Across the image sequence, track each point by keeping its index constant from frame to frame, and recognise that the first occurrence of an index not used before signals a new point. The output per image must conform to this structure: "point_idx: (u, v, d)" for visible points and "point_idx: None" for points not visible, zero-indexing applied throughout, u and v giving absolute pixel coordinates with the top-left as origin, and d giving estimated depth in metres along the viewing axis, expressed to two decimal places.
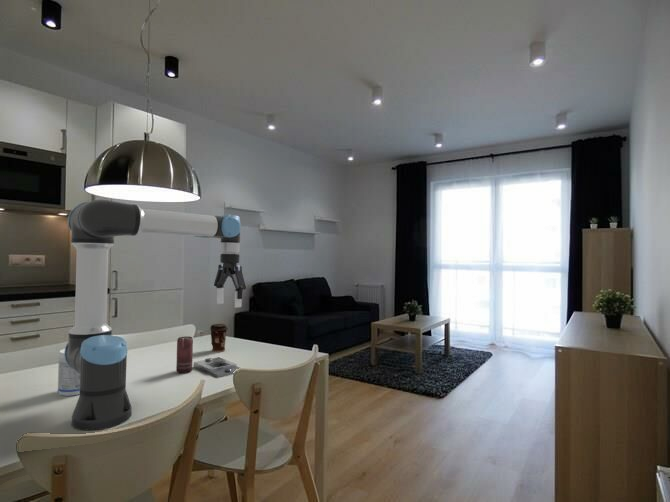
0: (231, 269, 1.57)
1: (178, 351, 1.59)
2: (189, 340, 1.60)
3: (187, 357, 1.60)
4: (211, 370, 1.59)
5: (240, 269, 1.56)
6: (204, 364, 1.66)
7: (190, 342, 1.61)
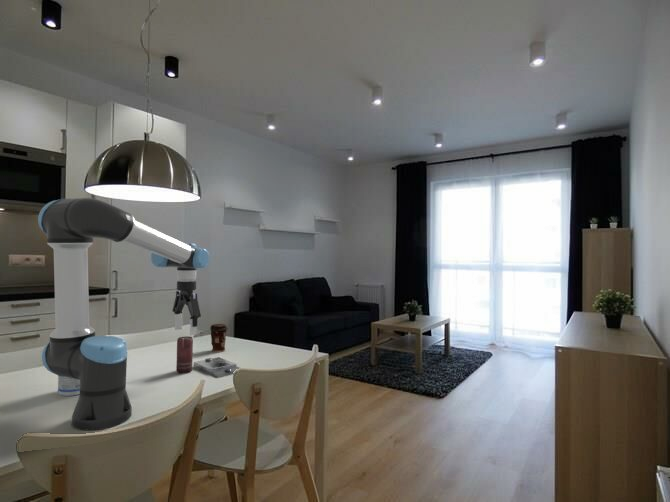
0: (187, 297, 1.59)
1: (178, 351, 1.59)
2: (189, 340, 1.60)
3: (187, 357, 1.60)
4: (211, 370, 1.59)
5: (195, 297, 1.58)
6: (204, 364, 1.66)
7: (190, 342, 1.61)
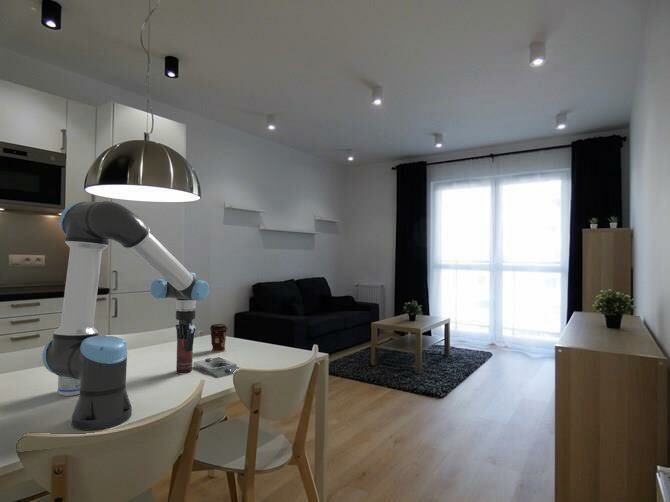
0: (186, 326, 1.59)
1: (178, 351, 1.59)
2: None
3: (187, 357, 1.60)
4: (211, 370, 1.59)
5: (193, 332, 1.58)
6: (204, 364, 1.66)
7: None
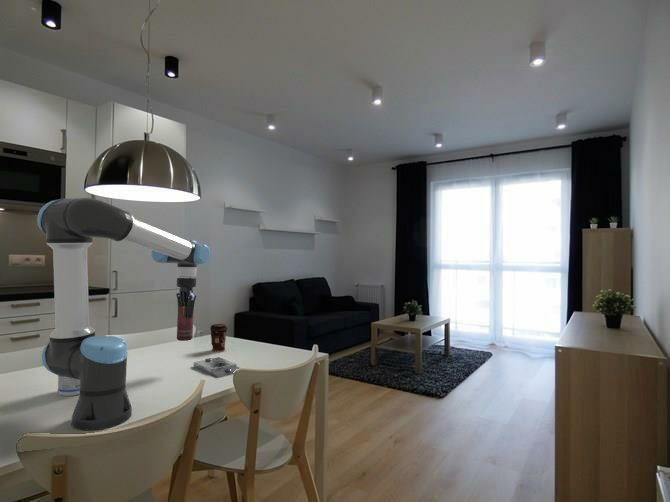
0: (187, 293, 1.59)
1: (179, 318, 1.59)
2: None
3: (188, 325, 1.60)
4: (211, 370, 1.59)
5: (194, 299, 1.58)
6: (204, 364, 1.66)
7: None
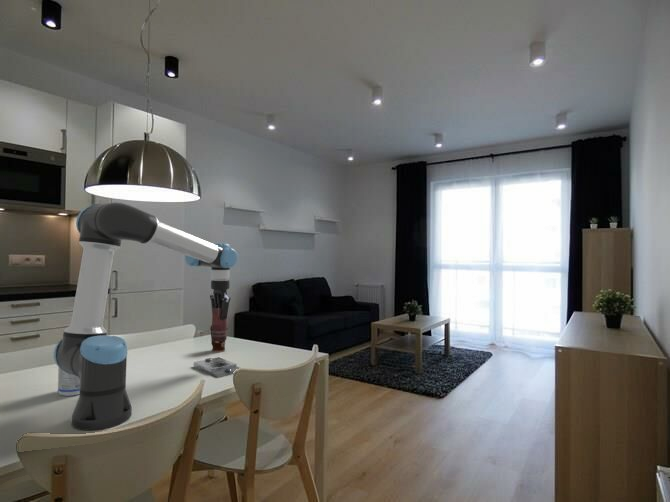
0: (221, 295, 1.64)
1: (214, 320, 1.64)
2: None
3: (223, 326, 1.64)
4: (211, 370, 1.59)
5: (228, 301, 1.63)
6: (204, 364, 1.66)
7: None
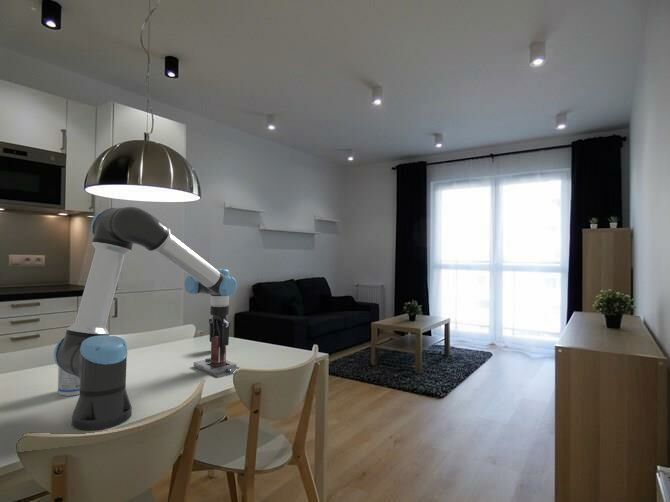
0: (220, 321, 1.63)
1: (212, 349, 1.64)
2: None
3: (221, 355, 1.64)
4: (211, 370, 1.59)
5: (228, 326, 1.63)
6: (204, 364, 1.66)
7: None
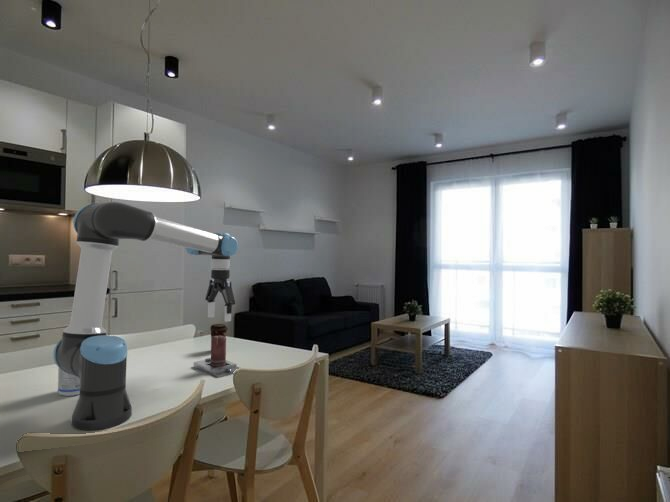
0: (221, 285, 1.64)
1: (212, 349, 1.64)
2: (223, 338, 1.65)
3: (221, 355, 1.64)
4: (211, 370, 1.59)
5: (230, 285, 1.62)
6: (204, 364, 1.66)
7: (224, 340, 1.65)
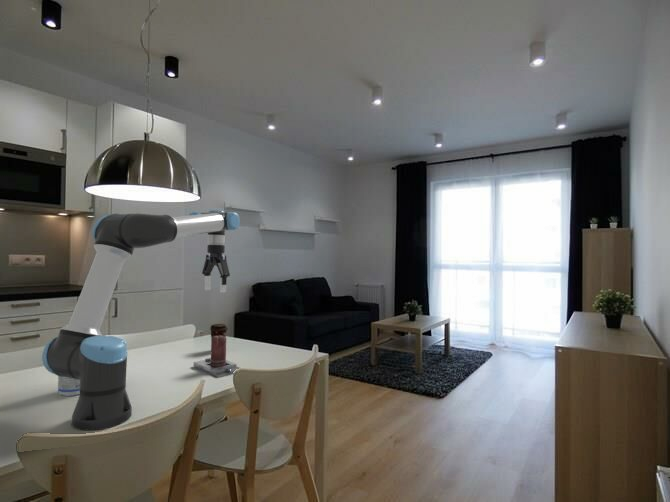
0: (217, 258, 1.76)
1: (212, 349, 1.64)
2: (223, 338, 1.65)
3: (222, 355, 1.64)
4: (211, 370, 1.59)
5: (225, 258, 1.75)
6: (204, 364, 1.66)
7: (224, 340, 1.65)
